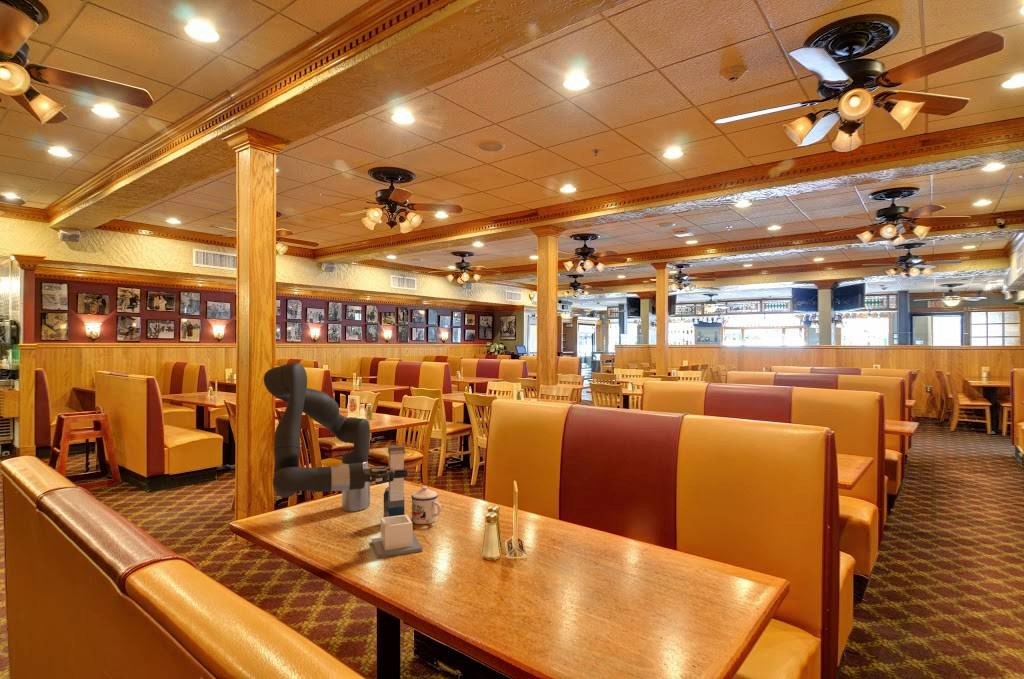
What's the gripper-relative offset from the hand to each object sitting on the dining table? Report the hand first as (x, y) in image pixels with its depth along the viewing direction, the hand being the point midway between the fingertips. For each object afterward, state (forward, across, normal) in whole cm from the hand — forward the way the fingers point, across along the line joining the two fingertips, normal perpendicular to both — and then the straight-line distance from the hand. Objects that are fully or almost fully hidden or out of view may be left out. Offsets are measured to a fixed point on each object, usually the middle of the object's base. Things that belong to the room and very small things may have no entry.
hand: (405, 471), depth 166 cm
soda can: (0, +20, +23) cm, 30 cm away
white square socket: (-3, 0, +22) cm, 23 cm away
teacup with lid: (+11, +18, +23) cm, 31 cm away
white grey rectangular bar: (-3, 0, +10) cm, 10 cm away
